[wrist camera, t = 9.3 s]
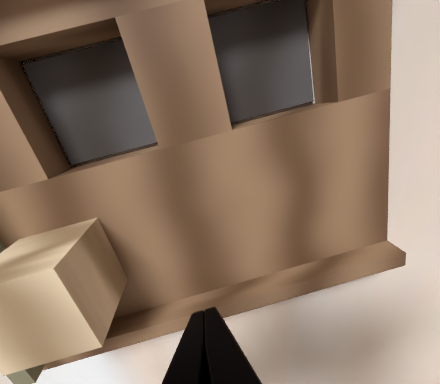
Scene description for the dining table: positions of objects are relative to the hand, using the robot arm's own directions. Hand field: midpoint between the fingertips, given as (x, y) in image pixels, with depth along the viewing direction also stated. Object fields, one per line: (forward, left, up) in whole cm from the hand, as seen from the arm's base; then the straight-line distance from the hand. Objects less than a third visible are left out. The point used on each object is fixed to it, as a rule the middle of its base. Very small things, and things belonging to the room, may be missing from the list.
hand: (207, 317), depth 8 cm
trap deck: (0, -4, -9) cm, 10 cm away
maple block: (+8, 0, -7) cm, 10 cm away
